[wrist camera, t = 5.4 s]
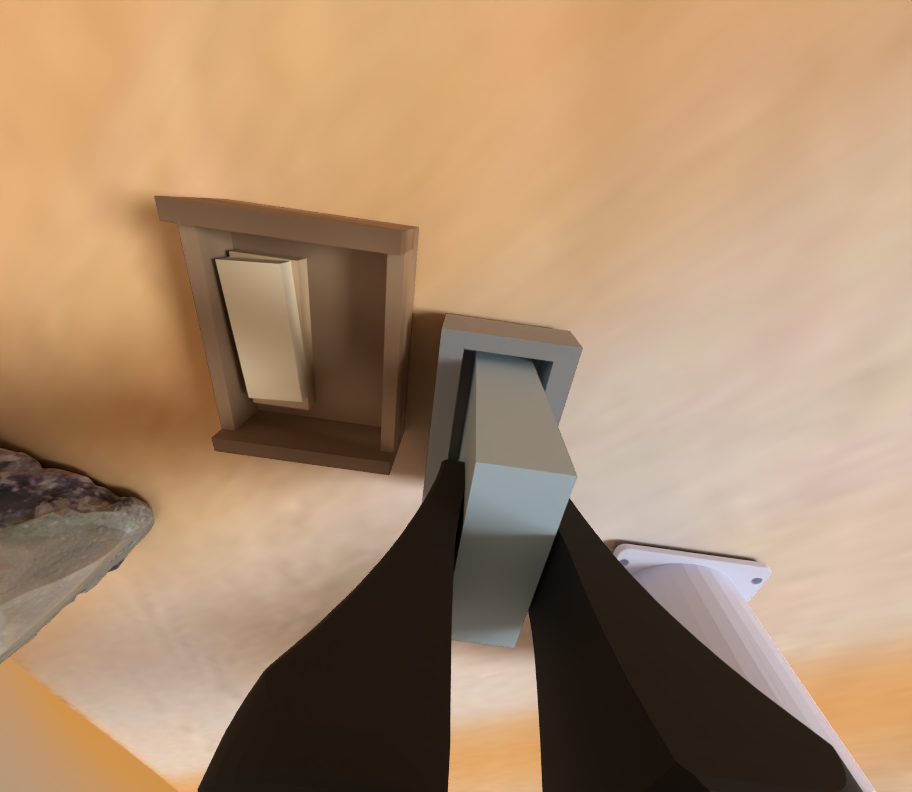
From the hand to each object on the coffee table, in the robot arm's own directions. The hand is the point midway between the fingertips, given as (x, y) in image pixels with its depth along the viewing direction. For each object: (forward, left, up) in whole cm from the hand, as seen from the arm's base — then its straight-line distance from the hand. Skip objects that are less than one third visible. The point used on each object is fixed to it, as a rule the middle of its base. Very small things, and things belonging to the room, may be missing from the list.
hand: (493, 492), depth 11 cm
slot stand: (0, 0, -5) cm, 5 cm away
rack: (+2, +7, -5) cm, 9 cm away
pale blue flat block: (0, 0, -4) cm, 4 cm away
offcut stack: (+2, +8, -4) cm, 10 cm away
